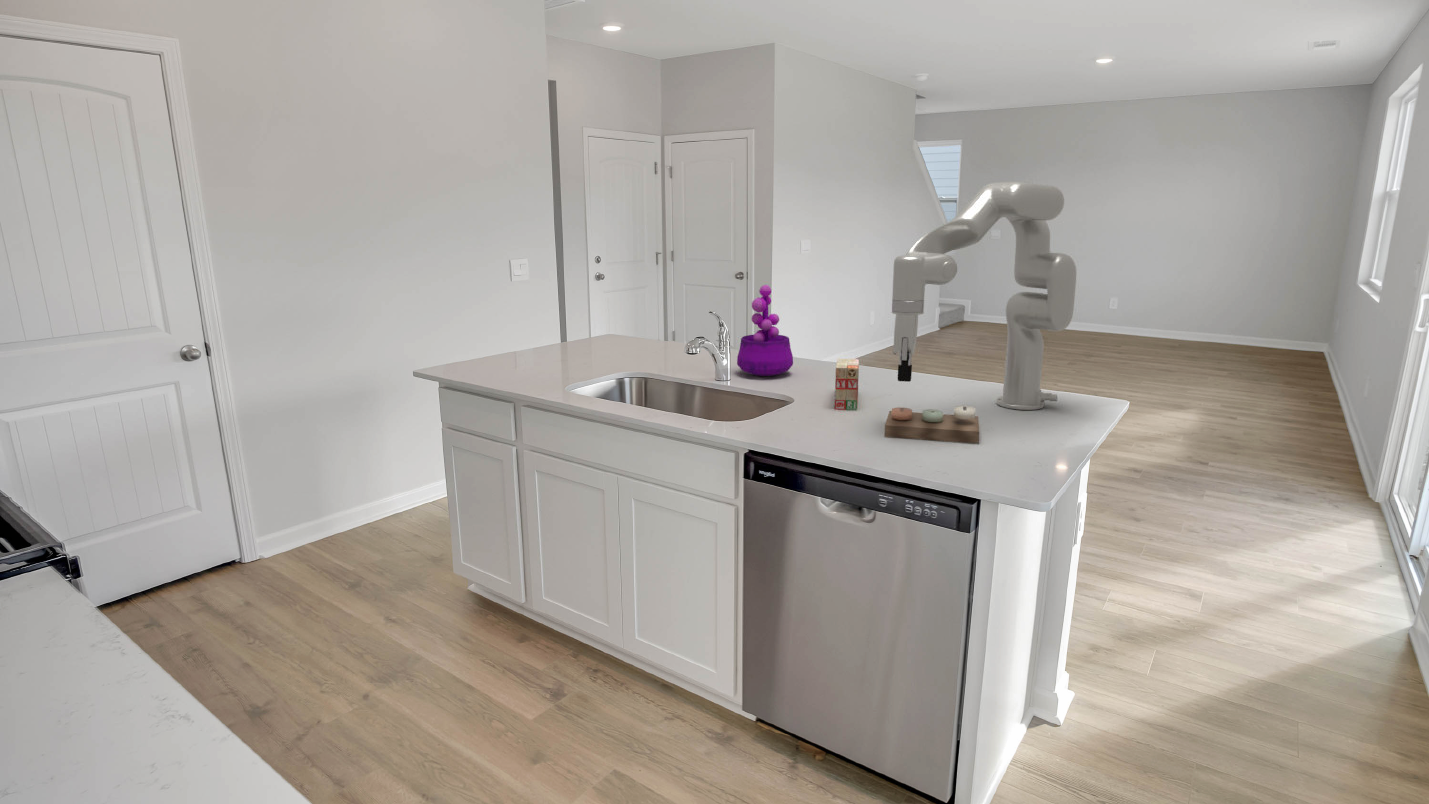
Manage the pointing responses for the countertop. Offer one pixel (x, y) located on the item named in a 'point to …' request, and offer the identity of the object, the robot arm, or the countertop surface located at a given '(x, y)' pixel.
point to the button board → (934, 429)
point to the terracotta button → (901, 413)
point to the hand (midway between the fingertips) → (904, 380)
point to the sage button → (932, 415)
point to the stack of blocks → (846, 384)
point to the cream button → (964, 412)
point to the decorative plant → (765, 342)
